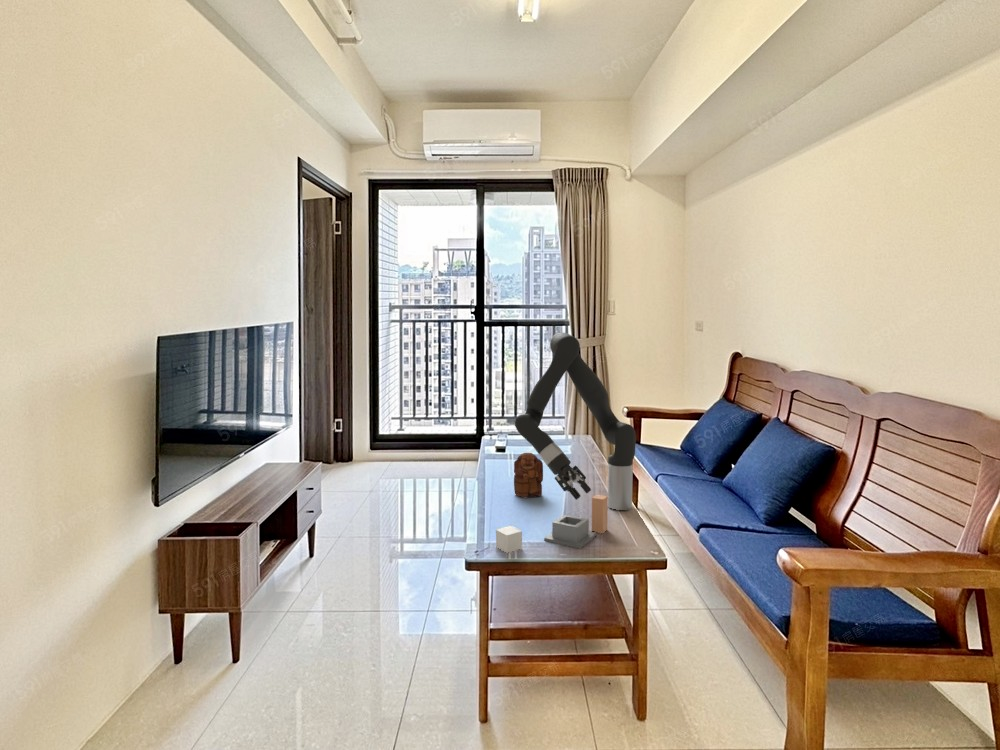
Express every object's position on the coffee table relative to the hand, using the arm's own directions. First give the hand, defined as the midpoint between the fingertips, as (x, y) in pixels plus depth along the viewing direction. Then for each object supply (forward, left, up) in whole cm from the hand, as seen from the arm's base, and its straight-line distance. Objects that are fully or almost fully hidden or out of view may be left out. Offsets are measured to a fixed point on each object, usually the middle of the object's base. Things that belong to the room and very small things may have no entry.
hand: (584, 494), depth 200 cm
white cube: (+16, -27, -12) cm, 34 cm away
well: (+9, -6, -12) cm, 16 cm away
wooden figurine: (-38, -16, -12) cm, 43 cm away
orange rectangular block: (+3, +5, -12) cm, 13 cm away
